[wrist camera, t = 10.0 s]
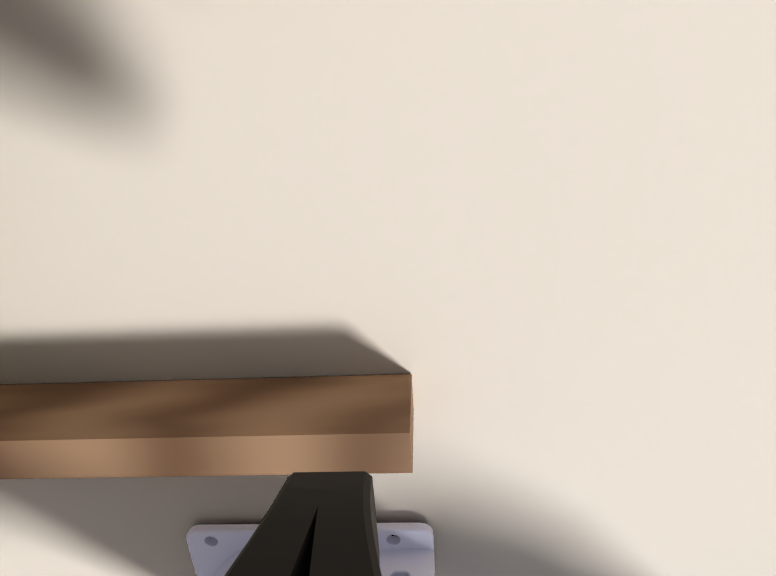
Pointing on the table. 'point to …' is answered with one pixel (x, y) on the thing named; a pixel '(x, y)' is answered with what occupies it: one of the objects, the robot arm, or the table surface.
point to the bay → (207, 427)
